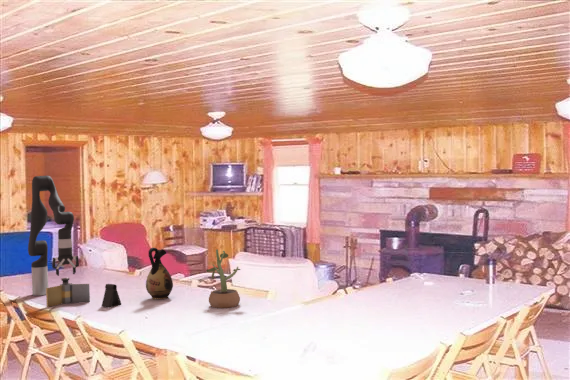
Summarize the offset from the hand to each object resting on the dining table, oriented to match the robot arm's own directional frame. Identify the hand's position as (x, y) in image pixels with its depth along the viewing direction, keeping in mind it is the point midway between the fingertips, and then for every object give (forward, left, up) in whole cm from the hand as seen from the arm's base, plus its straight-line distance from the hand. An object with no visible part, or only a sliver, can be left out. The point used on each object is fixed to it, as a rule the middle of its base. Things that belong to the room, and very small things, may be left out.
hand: (66, 274), depth 358 cm
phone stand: (+24, +20, -16) cm, 35 cm away
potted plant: (+57, +73, -16) cm, 94 cm away
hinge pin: (0, 0, -16) cm, 16 cm away
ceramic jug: (+20, +48, -16) cm, 54 cm away
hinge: (+2, 0, -16) cm, 16 cm away
